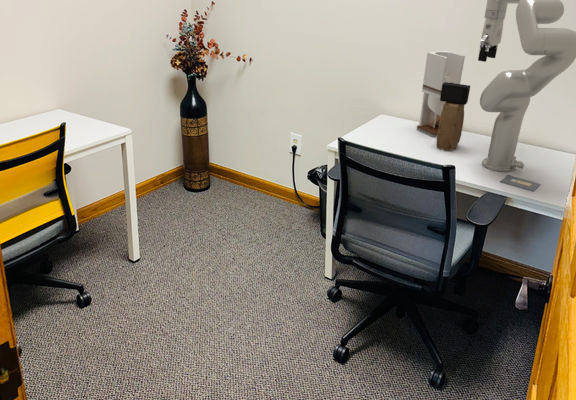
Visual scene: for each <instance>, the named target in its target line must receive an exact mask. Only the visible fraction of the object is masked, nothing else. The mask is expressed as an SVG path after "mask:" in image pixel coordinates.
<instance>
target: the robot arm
mask: <svg viewBox="0 0 576 400" xmlns="http://www.w3.org/2000/svg"><path fill="white" fill-rule="evenodd" d="M508 4H516V9H515V21H516V27H517V30H518V35H519V39H520V40H519V41H520V44H521V48H522V50H523V52H524V53H525V54H527V55H530V56H542V57H540V58H538V59H536V60H535V61H534V62H533V63H532V64H531V65H530V66H529V67H527V68H526V69H514V70H513V69H511V70H510V69H507V70H504V71H502V72H499V73H498V74H497V75H496V76H495V77H494V78H493V79H492V80H491V81H490V82H489V84H487V85H486V87H485V88H484V89H483V91H482V92H481V95H480V98H479V104H480V108H482V110H484V111H485V112H487V113H499V114H497V117H496V118H495V119H494V123H493V129H492V132H491V139H490V143H489V147H488V153H487V157H486V158H483V159H482V162H481V165H482V166H483V167H484V168H486V169H489V170H491V171H494V172H501V173H509V172H514V171H515V170H516V169H517V168H518V169H521V170H523V169H524V167H525V164H524V162H523V161H519V160H517V156H515V154H516V150H517V146H518V142H519V137H520V133H521V128H522V125H523V120H524V117H525V115H526V112H527V109H528V108H529V105H530V102H531V98H533V97H534V96H536V95H537V94H539V93H540V92H541V91H542V90H543V89H544V88H545V87H546V86H548V85H549V84H550V83H551V82H552V81H553V80H554V79H556V78H557V77H558V76H559V75H561V74H562V73H563V72H565V71H566V70H567V69H568V68H569V67H570V66H571V65H572V64H574V62H575V60H576V31H575V30H573V29H569V28H566V27H565V28H564V27H539V25H549V24H553V23H556V22H558V21H559V20H560V19H562V17H563V15H564V12H565V5H564V3H563V1H561V0H487V1H486V7H485V12H484V17H483V18H484V19H485V20H484V25H483V29H482V33H481V39H480V45H479V51H478V57H477V60H478V61H479V62H487V60H488V59H487V58H490V59H496V57H497V56H496V55H497V51H498V47H499V44H501V43H502V38H503V37H502V36H503V29H504V20H505V19H506V15H507V14H506V13H507V9H508Z"/></svg>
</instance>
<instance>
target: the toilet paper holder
mask: <svg viewBox="0 0 576 400" xmlns="http://www.w3.org/2000/svg"><path fill="white" fill-rule="evenodd" d="M426 54H427V55H426V60H425V62H426V63H425V67H424V68H425V69H424V74H423V80H422V81H423V83H422V88H421V89H422V90H421V92H422V93H423V94H422V95H423V97H422V102H421V111H420V117H419V123H418V125H416V131H418V132H420V133H421V134H422V133H423V134H425V135H427V136H429V137H430V138H437V134H438V128H439V122H440V117H441V112H442V110H443V105H444V103H446V102H444V101H440V97H441V90H442V84H443V83H444V82H448V83H455V84H461V82H462V75H463V70H464V64H465V58H466V55H463V54H459V53H455V52H453V51H449V50H441V51H430V52H427V53H426Z"/></svg>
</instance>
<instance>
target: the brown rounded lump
mask: <svg viewBox="0 0 576 400" xmlns="http://www.w3.org/2000/svg"><path fill="white" fill-rule="evenodd" d="M464 122H465V105H463V104H457V103H451V102H446V103H444V105H443V110H442V112H441V117H440V122H439V128H438V134H437V137H436V145H435V146H436V147H437V148H439V149H441V150H443V151H454V150H456V149H457V147H458V145H459V143H460V142H461V139H462V138H461V137H462V132H463V128H464V127H463V126H464Z"/></svg>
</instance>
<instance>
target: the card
mask: <svg viewBox="0 0 576 400" xmlns="http://www.w3.org/2000/svg"><path fill="white" fill-rule="evenodd" d="M499 183H501V184H505V185H509V186H512V187H516V188H520V189H523V190H526V191H530V192H535V191H536V190H537V189H538V188H539V187H540V186H541V185H542V183H540V182H536V181H533V180H532V181H531V180H529V179H524V178H520V177H518V176H515V175H511V174H507V175H505V176H504V177H503V178H502V179H501V180H500V181H499Z"/></svg>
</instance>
